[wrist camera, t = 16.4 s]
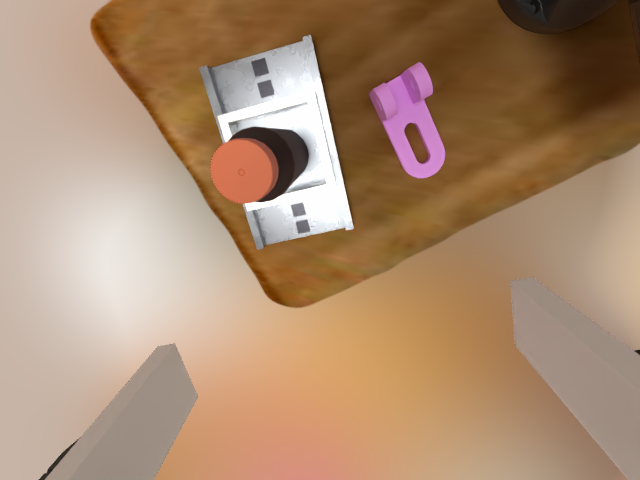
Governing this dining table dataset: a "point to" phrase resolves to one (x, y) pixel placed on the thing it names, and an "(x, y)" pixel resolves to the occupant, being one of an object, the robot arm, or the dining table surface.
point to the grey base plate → (292, 114)
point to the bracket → (409, 119)
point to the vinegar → (258, 164)
